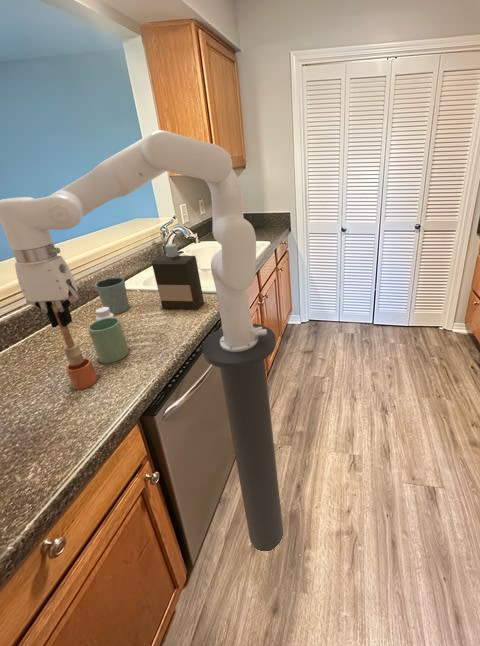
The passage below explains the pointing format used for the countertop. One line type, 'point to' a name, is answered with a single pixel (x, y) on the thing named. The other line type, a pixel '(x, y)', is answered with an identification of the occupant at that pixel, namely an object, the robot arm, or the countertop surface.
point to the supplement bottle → (103, 313)
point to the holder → (82, 374)
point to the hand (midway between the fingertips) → (62, 324)
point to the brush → (69, 343)
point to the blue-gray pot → (113, 294)
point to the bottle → (178, 280)
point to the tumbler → (108, 339)
